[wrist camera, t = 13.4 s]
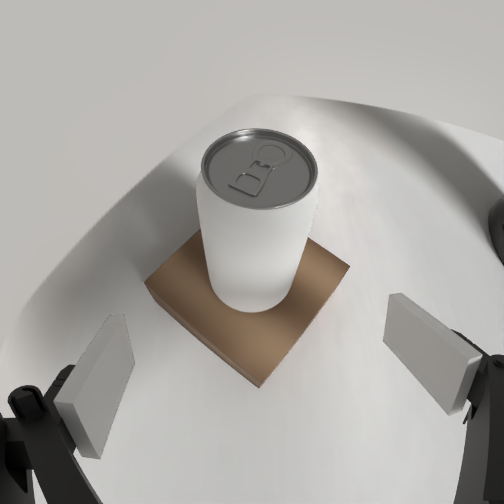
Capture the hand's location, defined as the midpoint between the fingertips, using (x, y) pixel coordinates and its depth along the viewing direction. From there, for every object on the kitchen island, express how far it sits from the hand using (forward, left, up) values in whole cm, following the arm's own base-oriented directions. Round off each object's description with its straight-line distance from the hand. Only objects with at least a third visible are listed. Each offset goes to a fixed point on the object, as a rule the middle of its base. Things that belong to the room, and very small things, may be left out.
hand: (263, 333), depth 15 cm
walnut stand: (-5, -5, -12) cm, 14 cm away
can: (-5, -5, -8) cm, 11 cm away
